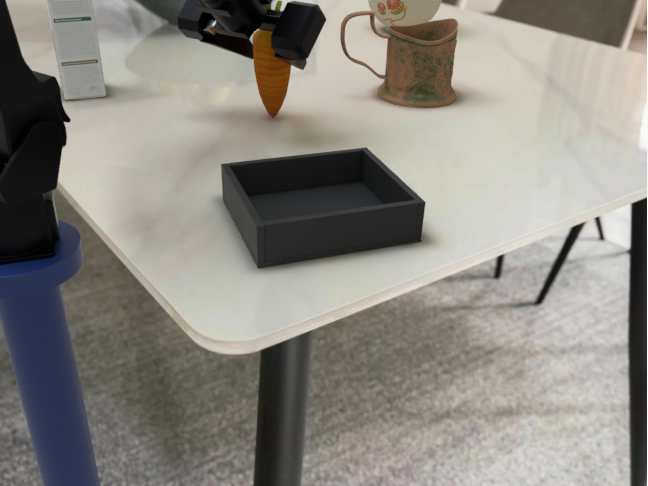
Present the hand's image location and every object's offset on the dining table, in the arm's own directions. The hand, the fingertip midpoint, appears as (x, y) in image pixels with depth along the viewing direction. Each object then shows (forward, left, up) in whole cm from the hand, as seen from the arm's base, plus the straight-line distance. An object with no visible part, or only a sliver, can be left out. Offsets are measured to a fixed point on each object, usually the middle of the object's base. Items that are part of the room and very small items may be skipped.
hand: (278, 61), depth 87 cm
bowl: (+38, +41, -7) cm, 56 cm away
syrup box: (-24, +16, -7) cm, 30 cm away
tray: (-5, -30, -7) cm, 31 cm away
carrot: (-1, -1, -7) cm, 7 cm away
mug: (+19, +3, -7) cm, 21 cm away
